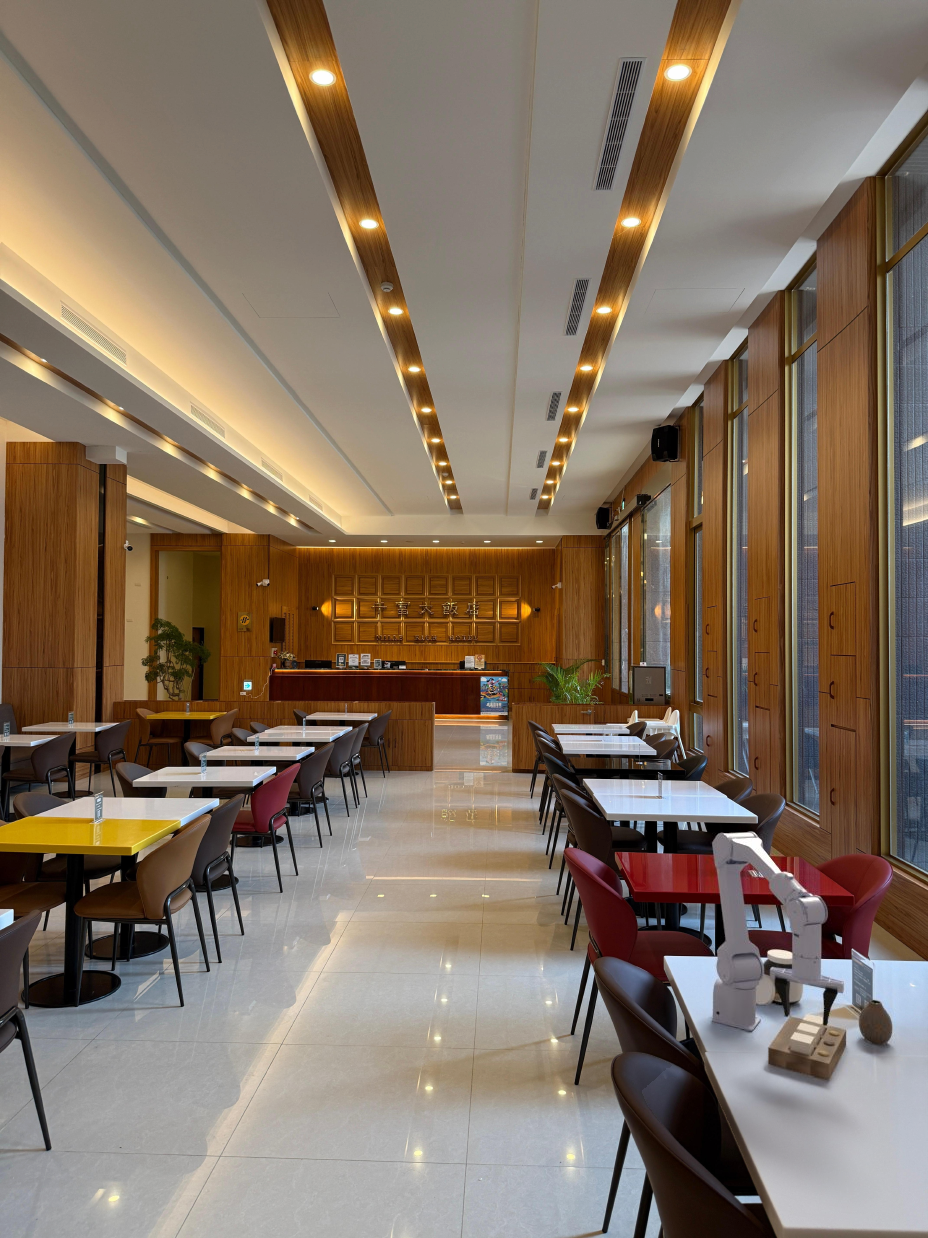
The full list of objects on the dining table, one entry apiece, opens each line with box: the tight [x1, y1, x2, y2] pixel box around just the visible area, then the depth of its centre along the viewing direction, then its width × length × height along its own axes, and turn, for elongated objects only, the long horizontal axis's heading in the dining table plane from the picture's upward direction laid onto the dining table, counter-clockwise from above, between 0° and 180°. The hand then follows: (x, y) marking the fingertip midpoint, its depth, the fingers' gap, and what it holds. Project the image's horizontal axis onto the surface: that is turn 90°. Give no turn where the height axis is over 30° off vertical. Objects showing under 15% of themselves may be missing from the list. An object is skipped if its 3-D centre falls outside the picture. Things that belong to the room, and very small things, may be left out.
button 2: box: [802, 1013, 825, 1035], centre depth 188 cm, size 4×4×4 cm
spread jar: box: [756, 949, 804, 1007], centre depth 212 cm, size 12×11×12 cm
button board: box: [767, 1015, 847, 1082], centre depth 183 cm, size 12×20×4 cm, turn 146°
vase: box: [858, 999, 893, 1046], centre depth 191 cm, size 7×7×9 cm
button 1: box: [790, 1032, 814, 1056], centre depth 178 cm, size 4×4×4 cm
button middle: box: [797, 1023, 820, 1045], centre depth 183 cm, size 4×4×4 cm
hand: (806, 1019), depth 179 cm, fingers open, 7 cm apart
